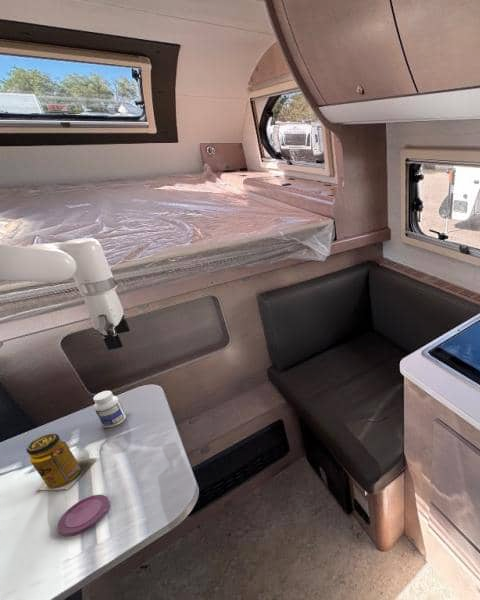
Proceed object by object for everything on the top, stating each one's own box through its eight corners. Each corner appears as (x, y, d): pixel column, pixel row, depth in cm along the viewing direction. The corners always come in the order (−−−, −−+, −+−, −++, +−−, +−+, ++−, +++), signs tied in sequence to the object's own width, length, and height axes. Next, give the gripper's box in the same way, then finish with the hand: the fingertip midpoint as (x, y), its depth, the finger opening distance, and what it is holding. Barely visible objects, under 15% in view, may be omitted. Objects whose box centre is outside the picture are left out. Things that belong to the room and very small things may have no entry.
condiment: (36, 490, 76) (10, 454, 70) (68, 459, 83) (47, 424, 78) (68, 489, 76) (45, 454, 71) (98, 458, 83) (79, 424, 78)
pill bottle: (106, 417, 96) (94, 391, 92) (128, 412, 98) (117, 386, 94) (99, 430, 92) (86, 404, 88) (123, 424, 94) (110, 398, 90)
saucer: (66, 544, 65) (65, 542, 65) (52, 521, 69) (50, 519, 69) (116, 509, 72) (115, 506, 72) (101, 490, 76) (99, 487, 75)
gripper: (88, 277, 92) (110, 329, 99) (67, 300, 78) (94, 358, 85) (121, 273, 95) (140, 324, 102) (106, 294, 81) (129, 351, 88)
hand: (119, 339), depth 94 cm, fingers open, 9 cm apart
